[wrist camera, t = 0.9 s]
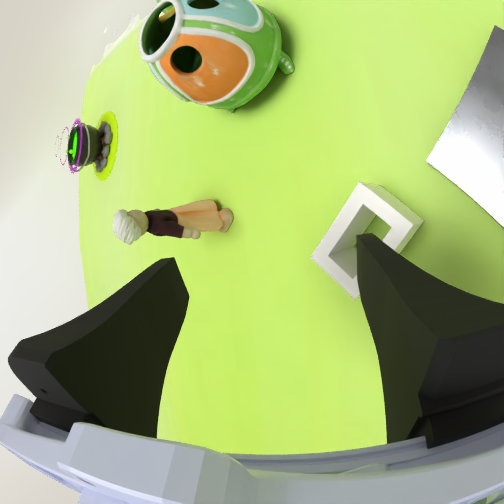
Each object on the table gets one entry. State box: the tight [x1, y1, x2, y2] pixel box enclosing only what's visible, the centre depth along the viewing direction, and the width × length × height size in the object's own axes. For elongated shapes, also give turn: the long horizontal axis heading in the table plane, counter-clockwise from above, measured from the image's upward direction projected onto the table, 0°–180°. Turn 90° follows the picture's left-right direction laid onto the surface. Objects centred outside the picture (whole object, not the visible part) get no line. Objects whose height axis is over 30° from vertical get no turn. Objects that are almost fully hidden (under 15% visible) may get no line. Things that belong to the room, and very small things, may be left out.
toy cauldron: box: [63, 112, 118, 181], centre depth 50 cm, size 15×15×11 cm
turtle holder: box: [139, 0, 294, 113], centre depth 24 cm, size 12×18×12 cm
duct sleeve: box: [310, 182, 424, 299], centre depth 20 cm, size 6×4×5 cm
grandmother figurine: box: [113, 199, 233, 245], centre depth 29 cm, size 8×4×13 cm, turn 87°
